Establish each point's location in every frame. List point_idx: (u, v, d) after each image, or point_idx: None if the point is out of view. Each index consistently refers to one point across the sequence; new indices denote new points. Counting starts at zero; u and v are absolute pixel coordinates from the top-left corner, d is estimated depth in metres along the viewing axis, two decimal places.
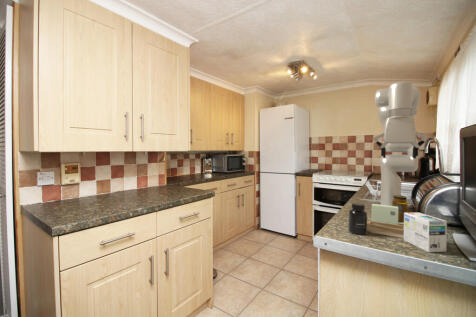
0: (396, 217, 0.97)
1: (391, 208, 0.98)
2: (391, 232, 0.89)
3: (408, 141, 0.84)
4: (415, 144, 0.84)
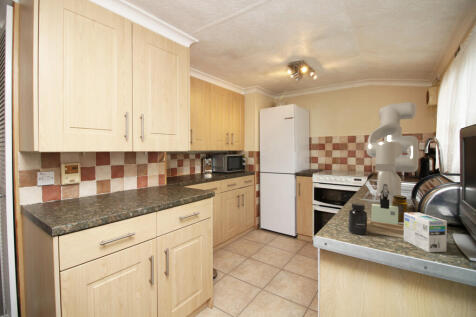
0: (396, 217, 0.97)
1: (391, 208, 0.98)
2: (391, 232, 0.89)
3: None
4: None
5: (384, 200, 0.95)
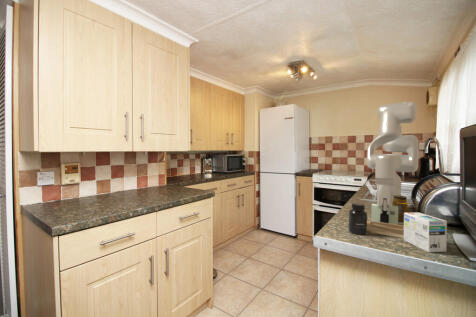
0: (396, 217, 0.97)
1: (391, 208, 0.98)
2: (391, 232, 0.89)
3: None
4: None
5: (384, 215, 0.99)
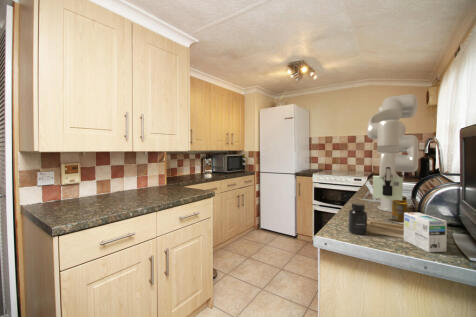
0: (400, 188, 0.88)
1: (395, 178, 0.89)
2: (391, 232, 0.89)
3: (392, 176, 0.93)
4: None
5: (387, 187, 0.89)
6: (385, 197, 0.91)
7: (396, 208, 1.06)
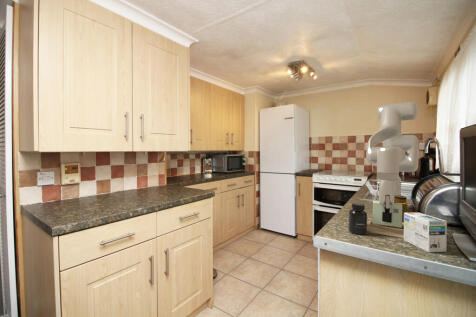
0: (400, 215, 0.88)
1: (394, 205, 0.89)
2: (391, 232, 0.89)
3: None
4: None
5: (386, 213, 0.90)
6: (385, 223, 0.91)
7: None
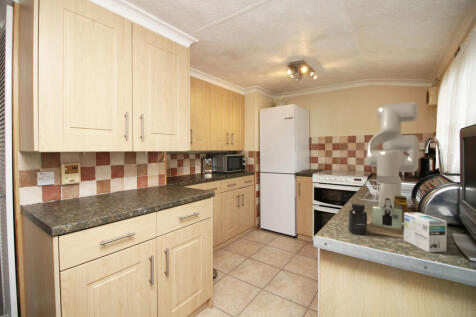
0: (400, 221, 0.89)
1: (394, 211, 0.89)
2: (391, 232, 0.89)
3: None
4: None
5: (386, 216, 0.88)
6: None
7: (396, 208, 1.06)
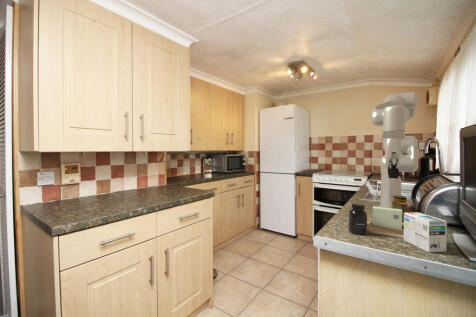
0: (400, 221, 0.89)
1: (394, 211, 0.89)
2: (391, 232, 0.89)
3: None
4: None
5: (393, 169, 0.88)
6: None
7: (396, 208, 1.06)
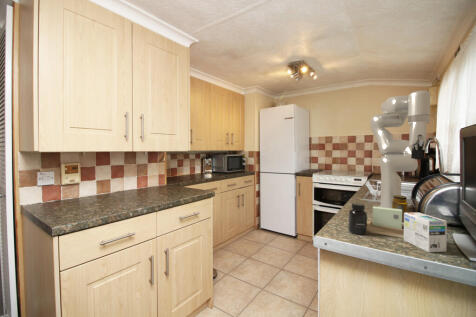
0: (400, 221, 0.89)
1: (394, 211, 0.89)
2: (391, 232, 0.89)
3: None
4: None
5: (419, 151, 0.93)
6: None
7: (396, 208, 1.06)
